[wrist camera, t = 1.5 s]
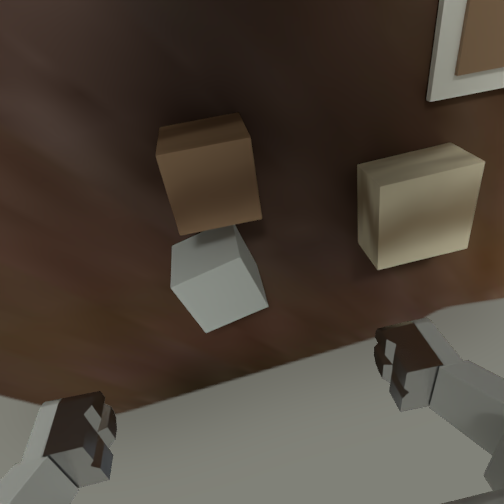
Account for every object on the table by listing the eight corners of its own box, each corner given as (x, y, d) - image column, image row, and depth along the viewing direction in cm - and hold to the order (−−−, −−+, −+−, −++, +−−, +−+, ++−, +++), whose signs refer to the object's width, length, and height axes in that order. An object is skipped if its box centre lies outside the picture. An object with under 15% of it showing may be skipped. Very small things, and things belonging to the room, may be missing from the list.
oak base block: (355, 163, 27) (380, 186, 24) (448, 141, 27) (485, 161, 24) (356, 241, 31) (377, 270, 28) (437, 221, 31) (467, 248, 28)
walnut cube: (159, 126, 23) (155, 155, 19) (238, 111, 23) (250, 137, 19) (179, 197, 26) (179, 235, 22) (249, 183, 26) (262, 218, 22)
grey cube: (172, 245, 28) (170, 287, 24) (231, 218, 28) (240, 256, 24) (202, 288, 31) (206, 333, 27) (256, 264, 30) (268, 306, 26)
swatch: (446, -55, 20) (455, -56, 19) (585, -79, 20) (598, -81, 20) (426, 100, 25) (432, 103, 24) (539, 78, 25) (548, 80, 24)
